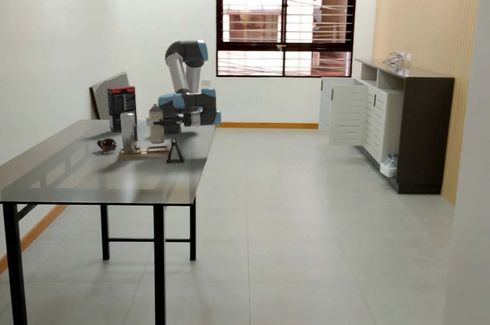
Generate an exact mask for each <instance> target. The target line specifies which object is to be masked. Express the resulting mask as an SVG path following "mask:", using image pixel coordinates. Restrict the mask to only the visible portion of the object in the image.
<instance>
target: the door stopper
mask: <svg viewBox="0 0 490 325" xmlns="http://www.w3.org/2000/svg"><path fill="white" fill-rule="evenodd" d="M174 147H175V150H176V153H177V154H178V157H179V158H172V154H173V150H174ZM169 149H170V151H169V154H168V157H166V162H165V163H166V164H181V163H182V164H183V163H185V160H186V158H185V156H184V154H183V150H182V149H181V147H180V145H179V140H178V137H177V136H172V138H171V140H170V147H169Z"/></svg>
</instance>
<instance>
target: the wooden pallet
mask: <svg viewBox="0 0 490 325" xmlns="http://www.w3.org/2000/svg"><path fill="white" fill-rule="evenodd" d="M169 151H170V147H169V145H168V144H167V145H155V146H154V145H153V146H146V148H142V147H140V146H139V147H138V146H137V152H131V153H124V151H123V147H122V148H119V150H118V154H117V156H118V161H119V160H120V161H129V160H131V161H132V160H133V161H134V160H143V159H145V160H146V159H156V158H157V159H158V158H168V154H169Z"/></svg>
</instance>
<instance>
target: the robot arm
mask: <svg viewBox="0 0 490 325" xmlns="http://www.w3.org/2000/svg"><path fill="white" fill-rule="evenodd" d="M164 60H165V64H166V66H167V67H168V70H169V74H170V77H171V81H172V86H173V89H174V93H165V94H162V95H160V96H159V97H158V98H157V106H158V107H159V108H160V109H162V113H163V120H161V119H160V121H159V120H149V117H145V122H146V127H150V126H158V125H161V126H163V127H164V135H172V134H178V133H179V134H180V133H181V132H182V124H183V126H184V127H185V128H186V127H189V128H190V127H196V128H198V127H200V126H201V127H204V126H215V125H216V126H217V125H220V124H221V123H222V113H221V111H220V110H219V109H217V92H216V89H215V87H202V88H201V89H200V91H199V88H200V80H201V78H200V76H201V70H202V67H203V66H204V65H205V62H208V61H209V52H208V46H207V44H206V41H205V40H202V39H200V40H199V39H197V40H178V41H174V42H173V43H171V44H170V45H169V46H168V47H167V50H166V51H165V54H164ZM183 63H184V64H185V68H184V65H183ZM180 115H182V116H180Z"/></svg>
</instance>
